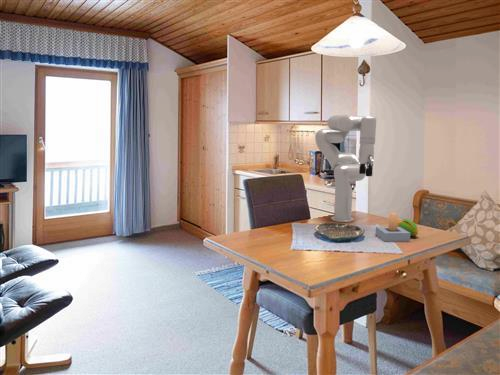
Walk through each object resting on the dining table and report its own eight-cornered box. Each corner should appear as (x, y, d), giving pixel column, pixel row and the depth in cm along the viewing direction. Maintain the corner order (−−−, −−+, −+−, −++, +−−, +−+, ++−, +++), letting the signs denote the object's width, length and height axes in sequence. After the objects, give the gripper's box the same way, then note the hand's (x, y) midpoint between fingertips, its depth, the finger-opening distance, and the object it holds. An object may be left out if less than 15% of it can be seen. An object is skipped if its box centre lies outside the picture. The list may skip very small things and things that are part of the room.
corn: (408, 223, 201) (389, 214, 220) (406, 239, 202) (387, 228, 222) (423, 224, 202) (403, 215, 221) (421, 239, 203) (401, 229, 222)
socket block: (375, 234, 209) (375, 227, 208) (399, 234, 210) (399, 226, 209) (384, 241, 197) (385, 233, 197) (409, 241, 198) (410, 233, 197)
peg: (394, 236, 206) (395, 212, 204) (397, 239, 202) (399, 214, 200) (386, 237, 205) (387, 212, 204) (389, 239, 201) (391, 214, 200)
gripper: (354, 140, 223) (353, 172, 226) (365, 142, 206) (364, 177, 209) (368, 140, 224) (366, 172, 226) (381, 142, 207) (378, 177, 209)
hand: (365, 174), depth 217 cm, fingers open, 9 cm apart
